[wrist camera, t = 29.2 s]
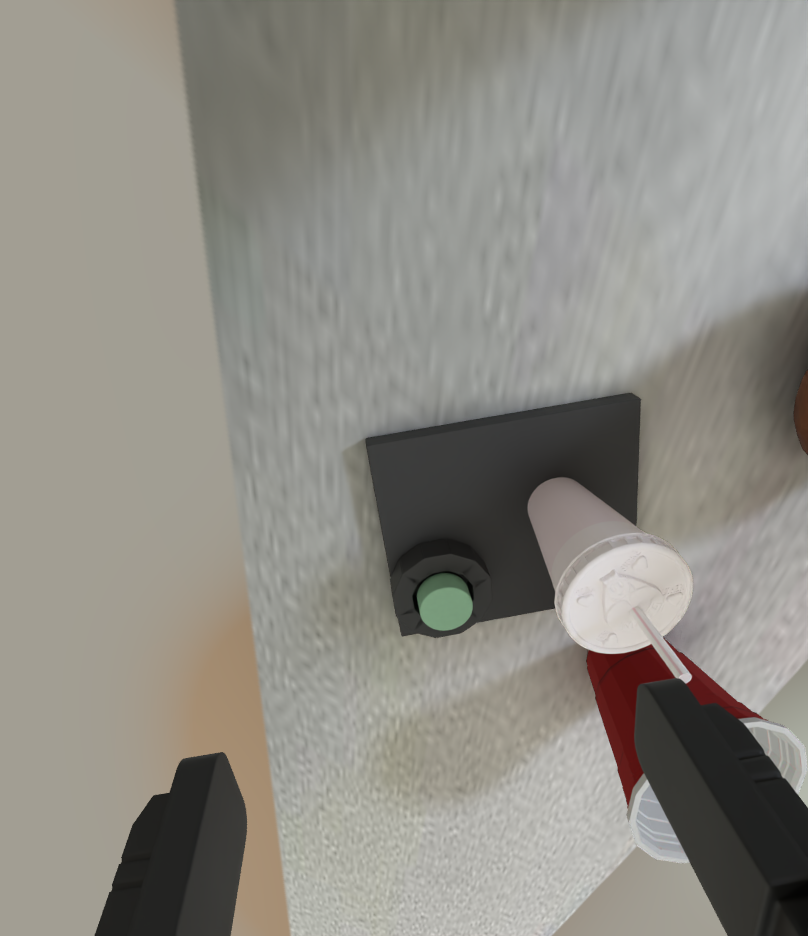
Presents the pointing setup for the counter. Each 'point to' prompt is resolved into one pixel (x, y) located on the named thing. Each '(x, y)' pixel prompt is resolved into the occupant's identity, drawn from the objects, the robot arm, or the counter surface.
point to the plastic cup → (617, 707)
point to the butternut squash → (802, 412)
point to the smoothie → (609, 573)
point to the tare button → (444, 601)
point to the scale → (494, 499)
